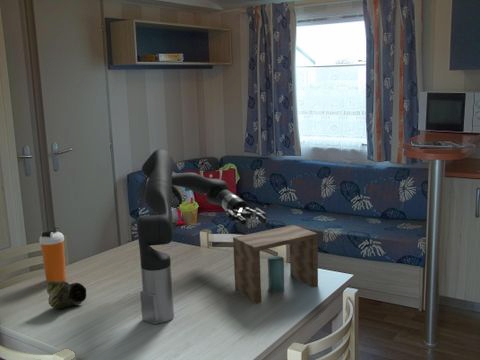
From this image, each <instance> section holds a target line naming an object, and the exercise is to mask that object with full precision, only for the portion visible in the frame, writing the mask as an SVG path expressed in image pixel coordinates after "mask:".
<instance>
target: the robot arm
mask: <svg viewBox="0 0 480 360" xmlns="http://www.w3.org/2000/svg"><path fill="white" fill-rule="evenodd" d="M174 167H175V161H174V158H173V156H172V155H171V153H170V152H169V151H167V150H164V149H163V148H162V149H161V148H159V149H156V150H154V151H152V153H151V154H150V155H149V157H147V159H146V160H145V161H144V163H143V164H142V166H141V170H142V173H143V174H144V175H145V177H146V178H148V180H147V183H146V185H145V188H144V203H145V204H146V206H147V207H148V208H149V209H150V210H151V211H152V212H153V213H154V215H141V216H140V217H139V218H137V222H136V229H137V230H136V231H137V241H138V247H139V248H138V249H139V256H140V257H139V258H140V271H141V272H140V273H141V286H142V290H141V291H140V292H139V294H140V303H141V304H140V305H141V307H140V308H141V320H142V321H145V322H147V323H150V324H153V325H158V324H163V323H166V322H169V321H171V320H172V319H174V317H175V313H174V312H175V311H174V310H175V309H174V298H173V297H174V294H173V281H172V280H173V279H172V264H171V263H172V261H171V256H170V255H169V254H167V253H166V252H162V251H159V250H156V248H155V249H154V248H153V247H152V246H163V245H169V244H170V243H171V242H172V240H173V238H174V221H173V213H172V212H173V211H172V209H173V208H172V207H173V205H172V204H173V202H172V201H173V188H172V186H175V187H180V188H183V189H187V190H190V191H192V192H194V193H196V194H199V195H205V199H206V200H207V202H208V203H210V204H213V205H217V206H220V207H221V208H222V209H223V210H224V212H226V214H225V217H226V218H228V220H230V221H231V222H237V223H239V224H241V225H242V226H245V225H246V223H247V222H246V221H247V220H246V219H250V220H252V221H254V220H255V221H256V220H257V221H259V222H260V223H261V224H263V225H264V224H266V222H267V218H266V217H265V215H266V212H264V211H263V210H262V209H260V208H259V207H255V209H252V208H250V207H249V205H248V203H247V201H245V200H243V199H242V198H241V197H239V196H238V195H236V194H234V193H233V192H232V191H231V190H228V189H229V185H228V183H227V182H226V181H225V180H222V179H220V178H210V177H209V178H208V177H205V176H203V175H201V174H198V173H197V172H191V171H190V172H188V171H187V172H186V171H185V172H178V173H173V172H174Z"/></svg>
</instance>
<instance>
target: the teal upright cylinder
mask: <svg viewBox="0 0 480 360" xmlns="http://www.w3.org/2000/svg"><path fill="white" fill-rule="evenodd" d="M284 261H285V258H284V257H282V256H281V255H273V256H272V255H271V256H269V257H268V258H267V273H268V274H267V281H268V290H270V291H271V292H281V291H283V290H285V265H284V264H285V263H284Z"/></svg>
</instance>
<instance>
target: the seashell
mask: <svg viewBox="0 0 480 360" xmlns="http://www.w3.org/2000/svg"><path fill="white" fill-rule="evenodd" d="M45 287H46V292H47V293H46V294H48V299H47V300H48V304H49V306H50V307H52V308H53V309H57V310H59V309H63V308H67V307H71V306H75V305H78V306H79V305H80V304H82V303H83V302H84V301H85V300H86V299H87V288H86V287H85V286H84V285H83V284H81V283H80V282H74V283H69V282H67V281H66V280H64V281H59V282H55V281H46V282H45Z"/></svg>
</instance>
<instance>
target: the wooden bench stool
mask: <svg viewBox="0 0 480 360" xmlns="http://www.w3.org/2000/svg"><path fill="white" fill-rule="evenodd" d="M318 237H319V236H318V233H317V232H315V231H312V230H309V229H306V228H303V227H301V226H298V225H295V224H292V225H287V226H282V227H278V228H277V227H276V228H272V229H267V230H263V231H258V232H254V233H253V232H252V233H248V234H243V235H237V236H233V237H232V242H233V243H232V245H233V263H234V264H233V266H234V267H233V268H234V270H233V271H234V289H235V291H236V292H237V293H239V294H240V295H242V296H244V297H245V298H247V299H248V300H250V301H251V302H253V303H255V304H260V303H262V284H261V282H262V281H261V280H262V279H261V255H260V254H261V253H260V252H261V251H264V250H268V249H271V248H272V249H273V248H277V247H282V246H286V245H289V267H290V268H289V270H290V273H289V274H290V276H291V277H292V278H294V279H296V280H298V281H300V282H302V283H304V284H306V285H308V286H310V287H312V288H317V287H319V262H318V261H319V257H318V255H319V254H318V250H319V249H318V248H319V247H318V242H319V241H318V240H319V239H318Z"/></svg>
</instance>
